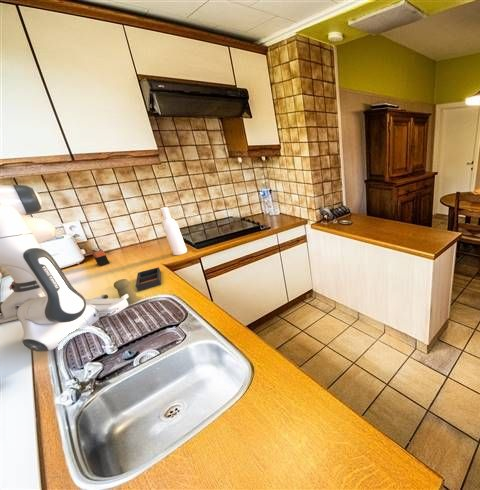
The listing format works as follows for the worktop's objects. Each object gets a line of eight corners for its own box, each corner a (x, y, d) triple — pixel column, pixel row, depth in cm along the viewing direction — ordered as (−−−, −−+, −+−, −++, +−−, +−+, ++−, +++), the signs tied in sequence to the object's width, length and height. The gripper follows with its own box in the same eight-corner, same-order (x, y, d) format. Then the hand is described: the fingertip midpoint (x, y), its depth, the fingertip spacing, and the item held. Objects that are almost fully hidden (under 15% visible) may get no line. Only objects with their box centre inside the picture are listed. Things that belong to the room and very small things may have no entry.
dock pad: (138, 291, 128) (135, 285, 127) (140, 277, 142) (137, 272, 140) (161, 284, 133) (158, 279, 132) (160, 272, 147) (158, 267, 145)
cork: (128, 306, 117) (118, 284, 113) (118, 305, 118) (107, 283, 114) (141, 298, 122) (132, 277, 118) (131, 297, 124) (121, 276, 119)
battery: (100, 266, 158) (92, 251, 154) (97, 264, 162) (89, 249, 158) (110, 263, 161) (102, 248, 158) (106, 261, 165) (99, 246, 161)
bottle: (174, 252, 173) (157, 207, 161) (187, 249, 176) (172, 205, 164) (172, 256, 166) (154, 210, 154) (186, 253, 169) (170, 208, 158)
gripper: (105, 308, 100) (136, 288, 112) (55, 309, 101) (91, 289, 114) (112, 322, 102) (142, 301, 115) (63, 322, 103) (98, 302, 116)
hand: (116, 295), depth 114 cm, fingers open, 8 cm apart
